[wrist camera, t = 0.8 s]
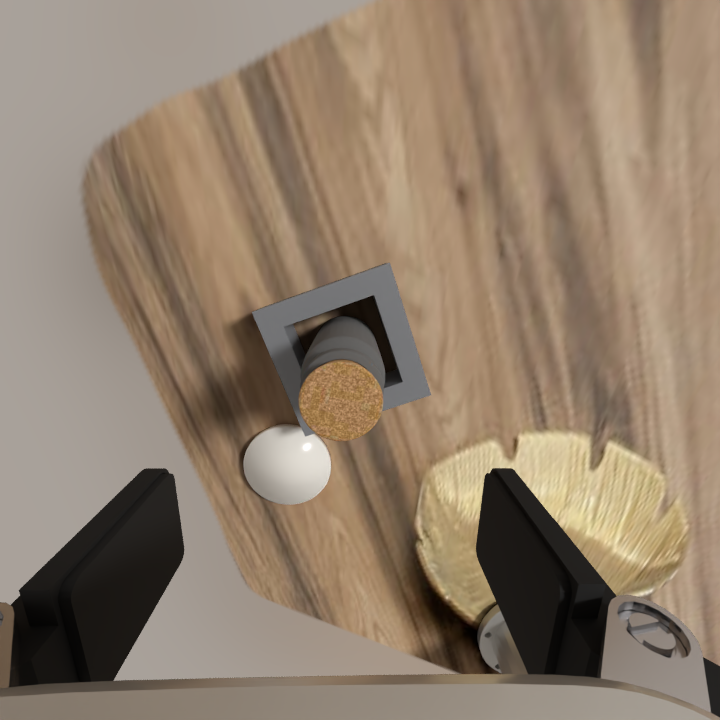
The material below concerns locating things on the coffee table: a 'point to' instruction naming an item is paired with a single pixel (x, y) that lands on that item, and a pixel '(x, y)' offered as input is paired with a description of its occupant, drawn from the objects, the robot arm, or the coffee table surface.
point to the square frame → (374, 281)
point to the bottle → (342, 380)
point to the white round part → (287, 464)
